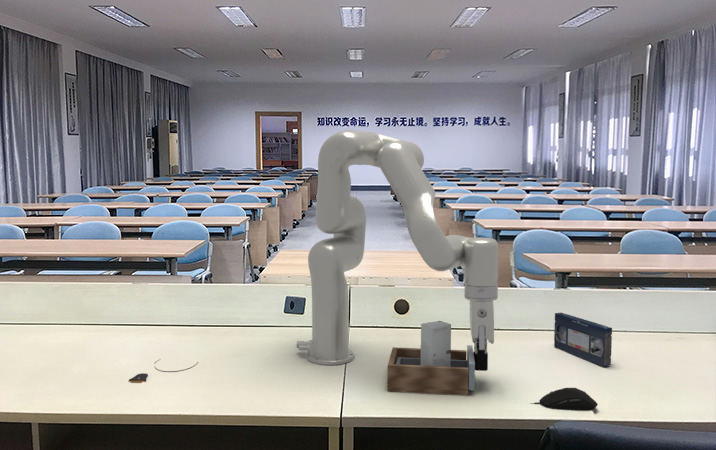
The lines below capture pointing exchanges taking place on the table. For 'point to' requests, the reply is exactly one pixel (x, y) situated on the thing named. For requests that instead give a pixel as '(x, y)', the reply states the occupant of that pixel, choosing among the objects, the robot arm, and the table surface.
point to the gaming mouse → (568, 400)
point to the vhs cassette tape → (583, 339)
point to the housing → (426, 374)
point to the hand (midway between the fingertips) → (480, 369)
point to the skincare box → (436, 344)
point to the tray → (454, 363)
